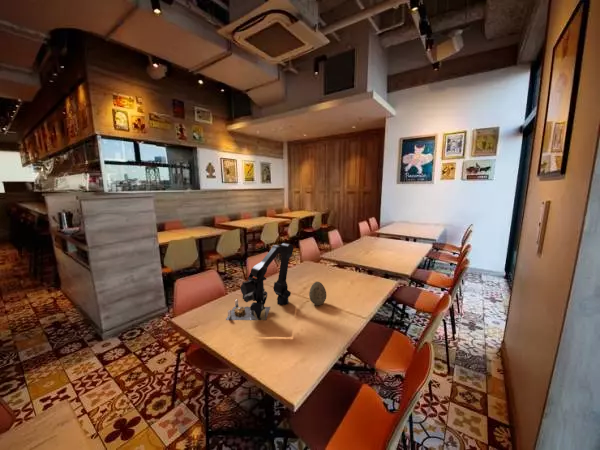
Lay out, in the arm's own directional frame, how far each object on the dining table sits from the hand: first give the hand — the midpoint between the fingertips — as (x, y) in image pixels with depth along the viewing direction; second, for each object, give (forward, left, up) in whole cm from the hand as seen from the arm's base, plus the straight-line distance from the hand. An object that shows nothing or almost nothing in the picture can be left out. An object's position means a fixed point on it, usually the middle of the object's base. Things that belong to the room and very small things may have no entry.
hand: (260, 314), depth 139 cm
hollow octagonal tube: (0, 0, 0) cm, 0 cm away
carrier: (+7, -2, -1) cm, 7 cm away
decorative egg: (-34, -15, -2) cm, 37 cm away
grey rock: (+12, -24, -2) cm, 27 cm away
